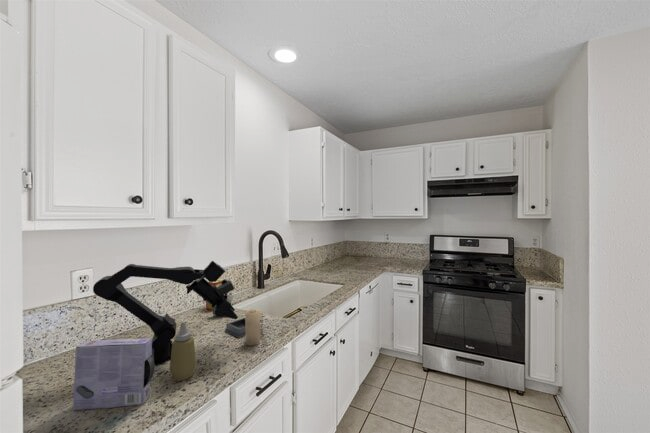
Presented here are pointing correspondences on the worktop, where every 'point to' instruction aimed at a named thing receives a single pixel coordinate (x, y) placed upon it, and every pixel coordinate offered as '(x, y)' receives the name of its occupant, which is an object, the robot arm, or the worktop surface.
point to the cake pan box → (112, 373)
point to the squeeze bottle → (183, 355)
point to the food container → (227, 299)
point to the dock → (236, 328)
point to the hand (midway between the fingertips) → (235, 314)
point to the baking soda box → (217, 283)
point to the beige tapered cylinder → (252, 327)
